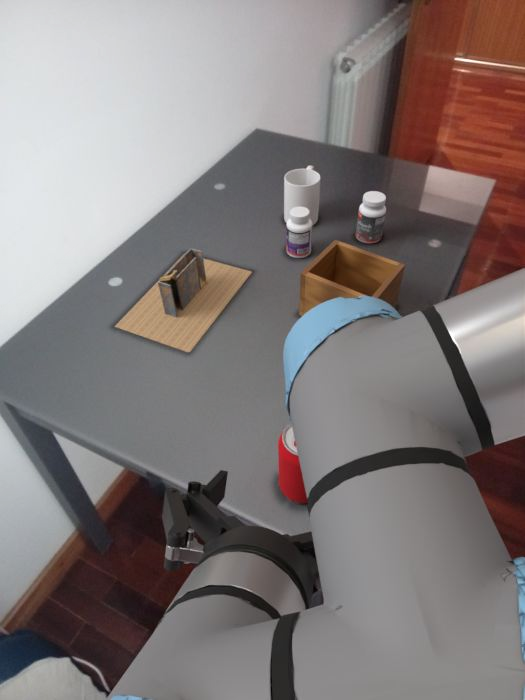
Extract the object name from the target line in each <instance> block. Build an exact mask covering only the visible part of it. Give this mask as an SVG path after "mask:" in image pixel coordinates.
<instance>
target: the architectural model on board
mask: <svg viewBox="0 0 525 700" xmlns="http://www.w3.org/2000/svg"><path fill="white" fill-rule="evenodd" d="M252 273H253V271H250V270H249V269H248V270H247V269H244V268H241V267H236V266H233V265H229V264H226V263H223V262H222V263H221V262H218V261H214V260H211V259H208V258H204V254H203V251H202V250H199V249H196V248H191V247H190V248H189V249H188V250H187V251H185V253H183V254H182V255H181V257H179V259H178V260H176V262H175V263H174V264H173V265H172V266H171V267H170V268H169V269H168V270H167V271H166V272H165V274H163V275H162V276H161V277H159V280H158V281H157V282H155V284H153V286H152V287H151V288H150V289H148V291H147V292H146V293H145V294H144V295H143V296H142V297H141V298H140V299H139V301H137V302H136V304H134V305H133V306H132V308H131V309H130V310H129V311H128V312H127V313H126V314H125V315H124V316H123V317H122V318H121V319H120V320H119V321H118V323H116V324H115V326H114V328H116V329H120V330H122V331H124V332H125V331H126V332H128V333H131V334H134V335H137V336H140V337H143V338H145V339H148V340H151V341H154V342H156V343H159V344H162V345H166V346H168V347H171V348H174V349H177V350H180V351H183V352H185V353H187V354H188V353H191V352H192V350H193V349H194V348H195V347H196V345H197V344H198V343H199V341H201V339H202V338H203V336H204V335H205V333H206V332H207V331H208V330H209V329H210V327H211V325H212V324H213V323H214V322H215V321H216V319H217V318H218V317H219V316H220V314H221V313H222V312H223V310H224V309H225V308H226V307H227V305H228V304H229V303H230V301H231V300H232V299H233V297H235V295H236V294H237V293H238V291H239V290H240V289H241V288H242V287H243V284H245V282H246V281H247V279H248V278H249V277H250V276H251V274H252Z"/></svg>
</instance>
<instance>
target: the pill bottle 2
mask: <svg viewBox="0 0 525 700" xmlns="http://www.w3.org/2000/svg"><path fill="white" fill-rule="evenodd" d="M386 200H387V196H386V194H385V193H383V192H381V191H377V190H370V191H366V192H365V193H364V194H363V195H362V203H361V204H359V207H358V214H357V221H356V229H355V238H356V240H358V241H359V242H361V243H363V244H375V243H378V242H379V241H381V239H382V237H383V231H384V226H385V225H384V224H385V220H386V215H387V207H386V205H385V204H386Z"/></svg>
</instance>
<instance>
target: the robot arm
mask: <svg viewBox="0 0 525 700" xmlns="http://www.w3.org/2000/svg"><path fill="white" fill-rule="evenodd" d="M282 362H283V374H284V384H285V402H284V403H285V407H286V411H287V413H288V414H287V415H288V419H289V421H290V423H292V428H293V433H294V438H295V442H296V447H297V452H298V457H299V462H300V467H301V471H302V476H303V481H304V486H305V491H306V496H307V501H308V502H307V513H308V517H309V520H308V522H309V526H310V531H306V532H303V533H298V534H294V535H290V534H289V533H285V534H282V533H280V532H278V531H276V530H274V529H272V528H268V527H264V526H260V525H259V526H258V525H245V524H244V522H242V521H241V520H240V519H239V518H237V516H235V515H227V514H225V513H224V512H223V511H222V509H220V508H219V507H218V506H219V505H220V504H221V502H222V501H223V500H224V498H225V495H226V489H227V481H228V473H229V471H228V470H223V469H220V470H219V472H218V473H216V474H215V476H213V477H212V479H210V480H209V482H208V483H206V484H202V483H201V482H200V481H195V480H192V481H188V483H187V490H186V494H185V493H183V494H181V492H180V490H179V489H177V488H175V487H168V488H166V489H165V491H164V498H163V506H162V513H161V520H162V525H163V528H164V533H165V539H166V546H165V553H164V562H163V568H164V569H165V570H166V571H170V572H176V571H179V570H180V569H181V568H182V567H183V564H186V565H187V564H190V563H192V564H196V565H195V567H193V570H192V571H191V572H190V574H189V575H188V577H187V578H186V580H185V581H184V583H183V584H182V586H181V587H180V588H179V590H178V592H177V593H176V595H175V596H174V598H173V599H172V601H171V602H170V604H169V606H167V609H166V610H165V611H164V614H163V616H162V617H161V618H160V620H159V621H158V623H157V624H156V627H155V629H154V630H153V633H152V634H151V635H150V637H149V638H148V640H147V641H146V642H145V644H144V645H143V646H142V648H141V650H140V651H139V652H138V654H137V655H136V656H135V658H134V659H133V660H132V662H131V664H130V665H129V667H128V668H127V670H126V671H125V672H124V673H123V674H122V676H121V677H120V678H119V680H118V681H117V683H116V685H115V686H114V687H113V688H112V690H111V692H110V693H109V694H108V696H107V697H106V698H105V700H525V557H524V556H519V557H515V558H512V557H511V555H510V553H509V551H508V549H507V547H506V544H505V543H504V541H503V539H502V536H501V534H500V533H499V530H498V528H497V525H496V524H495V522H494V520H493V518H492V516H491V514H490V512H489V510H488V507H487V505H486V503H485V501H484V499H483V496H482V493H481V492H480V490H479V487H478V485H477V483H476V480H475V479H474V476H473V474H472V471H471V469H470V467H469V465H468V463H467V461H466V457H469V456H472V455H474V454H477V453H479V452H482V451H486V450H488V449H492V448H494V447H495V446H497V445H500V444H502V443H505V442H509V441H512V440H516V439H518V438H521V437H525V267H523V268H521V269H519V270H515V271H513V272H511V273H509V274H506V275H504V276H501V277H498V278H496V279H494V280H491V281H489V282H487V283H485V284H482V285H479V286H477V287H474V288H472V289H469V290H466V291H465V292H461V293H459V294H458V295H455V296H452V297H450V298H447V299H446V300H442V301H440V302H438V303H436V304H433V305H430V306H427V307H425V308H423V309H420V310H417V311H415V312H412V313H410V314H407V315H405V316H402V315H401V314H400V313H399V312H398V310H397V309H396V308H395V309H394V308H393V307H392V306H391V305H390V304H388V303H387V302H385V301H383V300H381V299H378V298H375V297H370V296H362V295H361V296H359V297H358V298H347V299H346V298H343V297H338V298H334V299H331V300H328V301H325V302H323V303H321V304H319V305H317V306H315V307H314V308H312V309H310V310H309V311H308V312H307V313H305V314H304V315H303V316H300V317H299V319H298V320H297V321H296V322H295V323H294V324H293V325H292V327H291V329H290V330H289V332H288V333H287V336H286V338H285V341H284V346H283V352H282ZM195 533H196V534H197V535H198V537H200V538H201V540H202V541H203V542H204V544H201V543H199V542H198V539H197V537H195ZM320 592H322V598H323V603H322V604H320V605H316V606H314V607H312V601H313V598H314V597H315V596H317V595H318V594H319V593H320Z"/></svg>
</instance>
